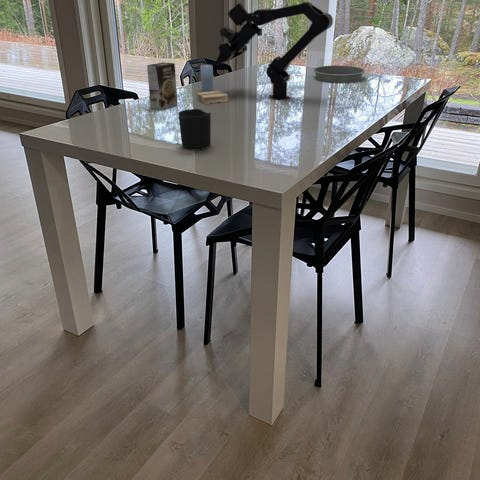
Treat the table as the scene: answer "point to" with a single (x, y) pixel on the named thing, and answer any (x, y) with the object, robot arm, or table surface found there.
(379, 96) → the table surface
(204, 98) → the oak base block
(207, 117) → the pen holder
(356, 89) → the table surface
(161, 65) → the coffee box
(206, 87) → the canister
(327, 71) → the cake pan
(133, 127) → the table surface
